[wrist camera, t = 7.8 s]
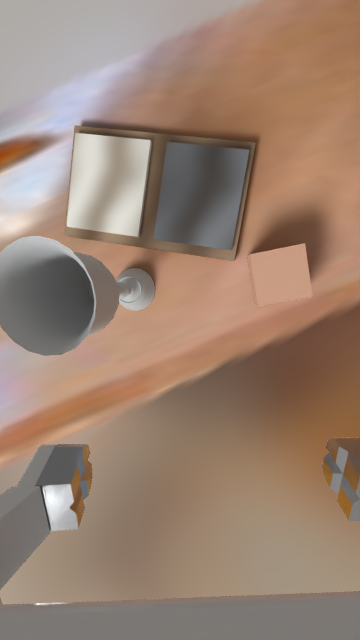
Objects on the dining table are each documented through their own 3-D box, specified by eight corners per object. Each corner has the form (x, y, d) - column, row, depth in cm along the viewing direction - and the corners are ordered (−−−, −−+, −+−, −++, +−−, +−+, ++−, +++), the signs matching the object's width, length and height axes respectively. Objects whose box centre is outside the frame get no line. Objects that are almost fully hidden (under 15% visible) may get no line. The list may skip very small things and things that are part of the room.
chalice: (95, 280, 36) (-32, 279, 18) (139, 247, 34) (46, 210, 17) (129, 330, 36) (35, 376, 18) (174, 298, 35) (119, 316, 17)
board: (68, 236, 36) (61, 234, 34) (79, 130, 34) (71, 122, 32) (234, 261, 33) (234, 260, 31) (254, 146, 31) (256, 139, 30)
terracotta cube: (253, 302, 33) (258, 306, 28) (246, 258, 33) (249, 254, 28) (299, 294, 32) (312, 296, 28) (293, 249, 32) (305, 243, 27)
